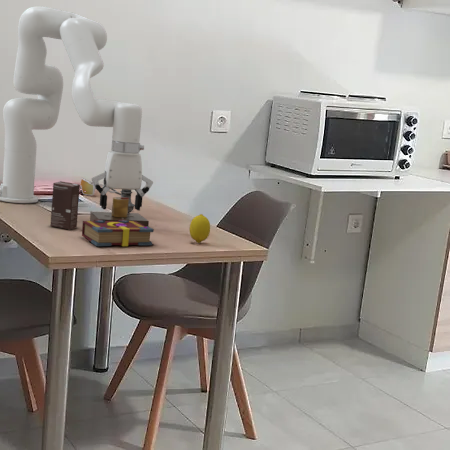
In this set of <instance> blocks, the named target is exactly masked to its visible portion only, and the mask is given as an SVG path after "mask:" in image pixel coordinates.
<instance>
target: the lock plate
mask: <svg viewBox="0 0 450 450" xmlns="http://www.w3.org/2000/svg"><path fill="white" fill-rule="evenodd" d="M94 220H103V221H117V220H126V221H136V222H138V223H140V224H142V225H144V226H146V227H147V226H148V227H149V224H150V220H148V219H147V218H145V217H144V216H143V215H141V214H140V213H138V212H130V213H128V214H127V217H124V218H121V217H114V216H112V211H90V213H89V221H94Z"/></svg>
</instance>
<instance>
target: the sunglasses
mask: <svg viewBox="0 0 450 450" xmlns="http://www.w3.org/2000/svg"><path fill="white" fill-rule="evenodd" d="M79 185H80V189H82V190H83V191H82V190H80V191H79V192H80V193H82V195H84V196H95V193H96V190H97V189H96V188H95V186H94V184H93V182H92V180H91V181H90V180H87V179H86V178H83V177H81V181H80V184H79ZM99 186H100V187H101V188H102V187H103V186H104V184H103V183H102V184H101V183H99ZM84 191H86V192H84ZM107 193H111V194H116V195H117V196H118V195H119V196H121V192H119V191H118V190H117V189H110V190H109V191H108V192H107Z"/></svg>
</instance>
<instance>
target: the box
mask: <svg viewBox="0 0 450 450" xmlns="http://www.w3.org/2000/svg"><path fill="white" fill-rule="evenodd" d="M80 185H81V184H79V183H73V182H67V181H56V182H53V184H52V196H51V197H52V199H51V211H50V212H51V213H50V227H54V228H60V229H64V230H75V229H76V228H78V216H79V215H78V213H79V204H80V203H79V202H80V192H81V191H80Z"/></svg>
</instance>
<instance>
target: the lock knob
mask: <svg viewBox="0 0 450 450" xmlns="http://www.w3.org/2000/svg"><path fill="white" fill-rule="evenodd" d="M128 203H129V198H126V197H121V196H114V197H112V205H111V212H112V216H114V217H121V218H124V217H127V214H128Z"/></svg>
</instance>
